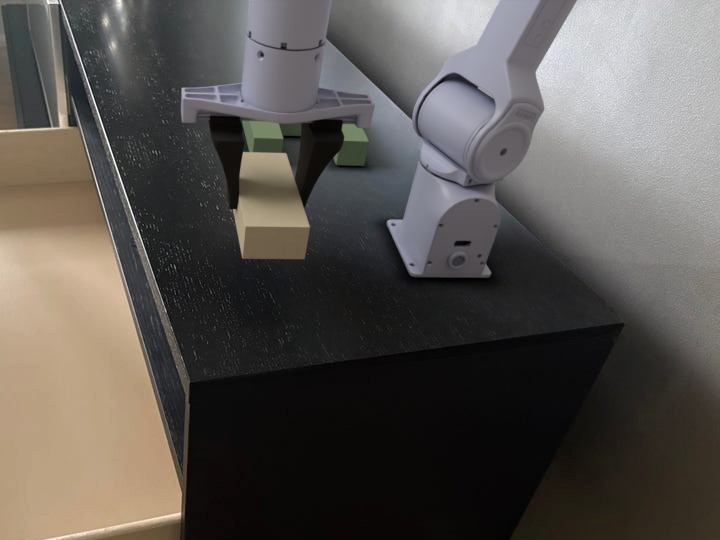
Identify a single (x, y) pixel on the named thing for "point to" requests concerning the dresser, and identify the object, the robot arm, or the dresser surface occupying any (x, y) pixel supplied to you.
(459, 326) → the dresser surface
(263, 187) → the cream block
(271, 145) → the green u-shaped block
